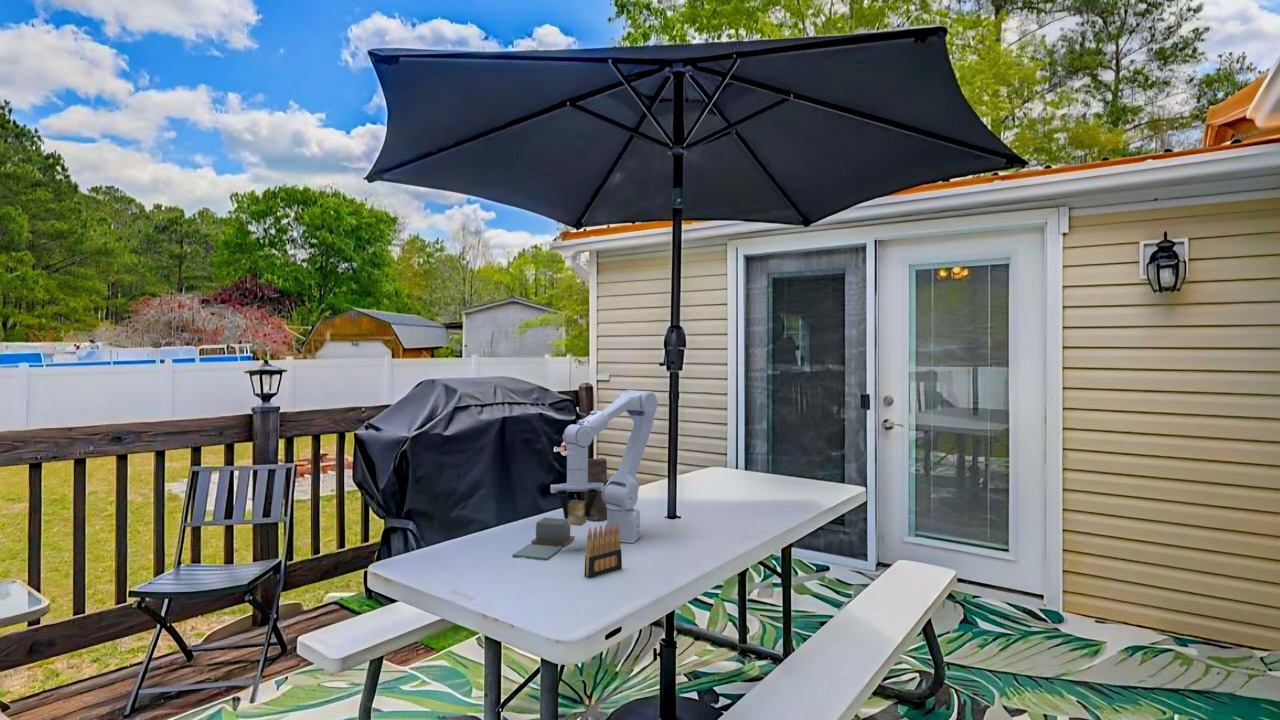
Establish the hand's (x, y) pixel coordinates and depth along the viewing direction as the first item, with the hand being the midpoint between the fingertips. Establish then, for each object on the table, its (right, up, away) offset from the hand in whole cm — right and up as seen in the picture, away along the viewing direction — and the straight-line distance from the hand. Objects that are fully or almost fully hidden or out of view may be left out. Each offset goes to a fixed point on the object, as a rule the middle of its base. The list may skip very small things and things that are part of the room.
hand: (577, 517), depth 186 cm
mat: (-10, -9, -3) cm, 14 cm away
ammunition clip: (+8, -10, -19) cm, 23 cm away
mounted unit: (-7, -9, +7) cm, 14 cm away
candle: (+3, -9, +35) cm, 36 cm away
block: (0, -2, 0) cm, 2 cm away
